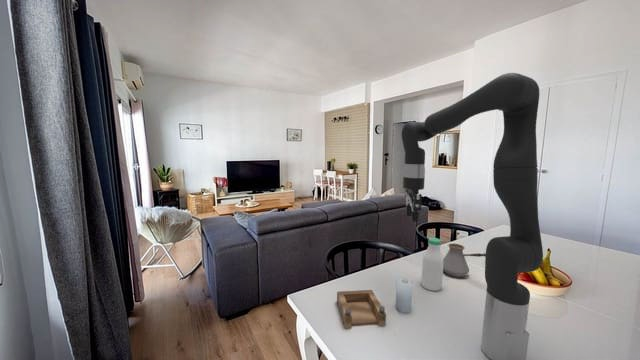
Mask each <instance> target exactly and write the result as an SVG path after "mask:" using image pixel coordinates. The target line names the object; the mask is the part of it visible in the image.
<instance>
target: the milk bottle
mask: <svg viewBox="0 0 640 360" xmlns="http://www.w3.org/2000/svg"><path fill="white" fill-rule="evenodd" d="M427 242H428V243H427V244H428V246H427V248H426V251H424V255H423V258H422V265H421V266H422V268H421V281H420V283H421V285H422V286H421V287H423V288H424V289H426V290H429V291H434V292H437V291H440V290H441V289H442V287H443V277H444V275H443V274H444V270H443V259H444V257H443V253H442V252H441V251H442V250H441V247H442V246H441V244H442V240H441V239H440V238H437V237H429V238H428V240H427Z"/></svg>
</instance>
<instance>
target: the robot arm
mask: <svg viewBox="0 0 640 360" xmlns="http://www.w3.org/2000/svg"><path fill="white" fill-rule="evenodd" d="M539 103H540V87H539V84H538V83H537V81H536V80H535V79H533V78H532V77H529V76H526V75H524V74H521V73H518V72H507V73H503V74H500V75H499V76H497V77H496V78H494V79H492V80H491V81H489V82H488V83H485V85H483V86H481V87H480V88H478V89H477V90H475V91H474V92H471V93H470V94H468V95H467V96H465V97H463V98H462V99H460V100H458V101H457V102H455V103H453V104H451V105H449V106H447V107H444V108H442V109H441V110H438V111H436V112H434V113H431V114H430V115H428V116H427V117H426V118H425V120H424V121H422V122H421V121H410V120H409V121H407V122H406V123H405V124H404V125H403V127H402V130H401V141H402V144H403V150H404V167H403V174H402V177H403V178H402V188H403V189H404V190H405V194H404V196H405V197H404V204H405V207H406V209H405V211H406V212H405V216H407V217H411V221H412V222H414V223H417V222H419V214H420V212H422V201H423V200H422V199H423V196H422V193H419V192H420V191H422V190H425V178H426V177H425V176H426V166H425V165H426V164H425V163H426V151H425V149H424V148H421V147H420V145H419V142H426V141H428V140H430V139H433V137H436V136H437V135H438V134H443V133H444V132H448V131H450V130H452V129H454V128H457V127H458V126H461V125H462V124H463V123H464V122H466V121H467V120H468V119H470V118H472V117H474V116H476V115H479V114H484V113H485V112H491V111H495V110H498V111H501V112H502V116H503V134H502V138H501V140H500V141H501V142H500V143H499V145H498V148H497V150H496V152H495V156H494V159H493V171H492V173H493V176H492V177H493V178H492V179H493V180H492V181H493V188H494V190H495V193H496V195H497V196H498V198H499V200H500V202H501V203H502V205H503V206H504V208H505V210H506V211H507V214H508V217H509V224H510V227H509V228H510V229H509V232H510V233H509V235H508V236H497V237H493V238H491V239H490V240H489V241H488V243H487V244H486V249H485V254H486V255H485V257H484V279H485V283H486V292H485V293H486V294H485V302H484V304H485V305H484V313H483V320H482V322H483V323H482V330H481V343H480V348H481V350H482V353H483V354H484V355H485V356H486V357H487V358H488V359H489V360H527V355H528V346H529V341H530V340H529V339H530V333H529V331H528V330H527V323H528V314H529V308H530V307H529V306H530V300H531V292H530V290H529V289H528V287H526V286H525V285H523V284H522V283H520V282H518V278H519V276H518V274H521V273H531V272H535V271H537V270H539V268H540V267H541V266H542V264H543V259H544V251H543V250H544V249H543V242H542V236H541V229H540V223H539V222H540V221H539V204H538V203H539V201H538V157H537V156H538V154H537V153H538V152H537V148H538V146H537V119H538V110H539Z"/></svg>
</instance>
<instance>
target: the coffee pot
mask: <svg viewBox="0 0 640 360" xmlns="http://www.w3.org/2000/svg"><path fill="white" fill-rule="evenodd" d="M447 245H448V247H449V250H448V252H447V253H446V254H445V256H444V257H443V272H444V273H445V274H446V275H448V276H450V277H455V278H462V277H464V276H466V275H467V274H469V271H470V268H469V265H468V263H467V260H466V257H479V258H480V257H484V258H485V255H486V252H484V253H464V252H463V251H464V250H465V246H464V245H461V244H459V243H449V244H447Z"/></svg>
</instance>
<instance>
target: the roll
mask: <svg viewBox="0 0 640 360" xmlns="http://www.w3.org/2000/svg"><path fill="white" fill-rule="evenodd" d="M413 283H414V282H413V280H411V279H408V278H405V277H400V278H397V280H396V292H395V293H396V294H395V309H396V311H397V312H399V313H402V314H410V313H411V312H412V299H413V288H414V287H413Z"/></svg>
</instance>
